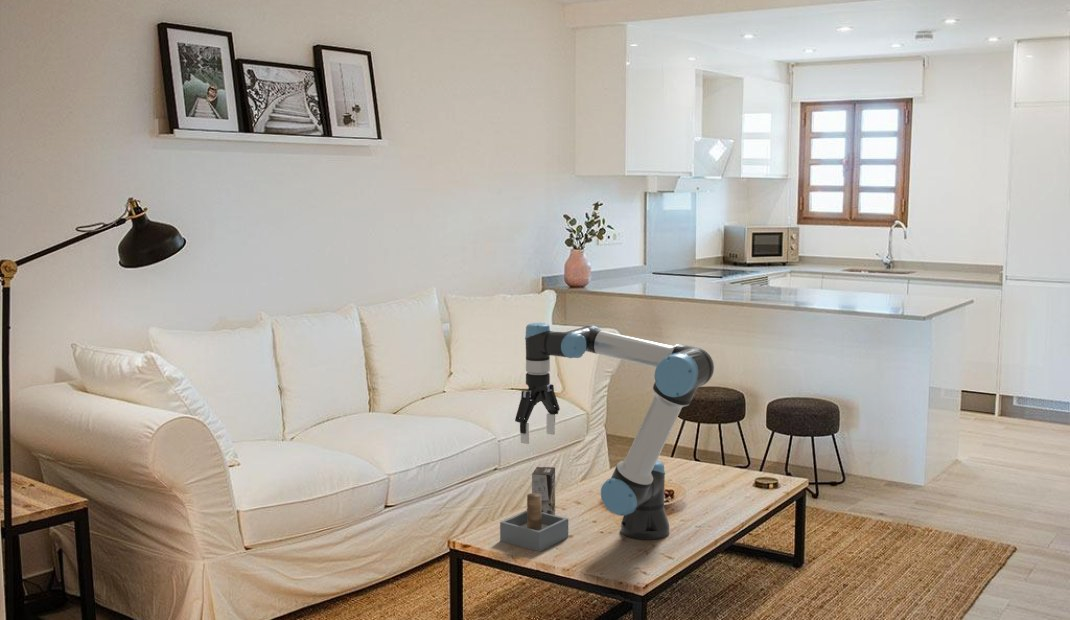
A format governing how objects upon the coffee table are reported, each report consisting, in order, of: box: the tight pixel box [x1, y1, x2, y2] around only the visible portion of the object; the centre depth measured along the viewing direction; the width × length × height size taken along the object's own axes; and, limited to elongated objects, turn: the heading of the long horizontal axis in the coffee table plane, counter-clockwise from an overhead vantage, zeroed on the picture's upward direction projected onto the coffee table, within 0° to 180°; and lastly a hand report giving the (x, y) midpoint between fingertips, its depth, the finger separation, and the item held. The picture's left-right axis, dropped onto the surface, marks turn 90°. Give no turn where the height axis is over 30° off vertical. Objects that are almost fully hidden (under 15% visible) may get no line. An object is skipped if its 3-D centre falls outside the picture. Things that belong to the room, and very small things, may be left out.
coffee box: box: [531, 466, 556, 515], centre depth 329 cm, size 9×6×16 cm
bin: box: [499, 510, 569, 552], centre depth 311 cm, size 15×15×6 cm
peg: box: [526, 492, 542, 531], centre depth 310 cm, size 4×4×14 cm
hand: (537, 438), depth 319 cm, fingers open, 13 cm apart
